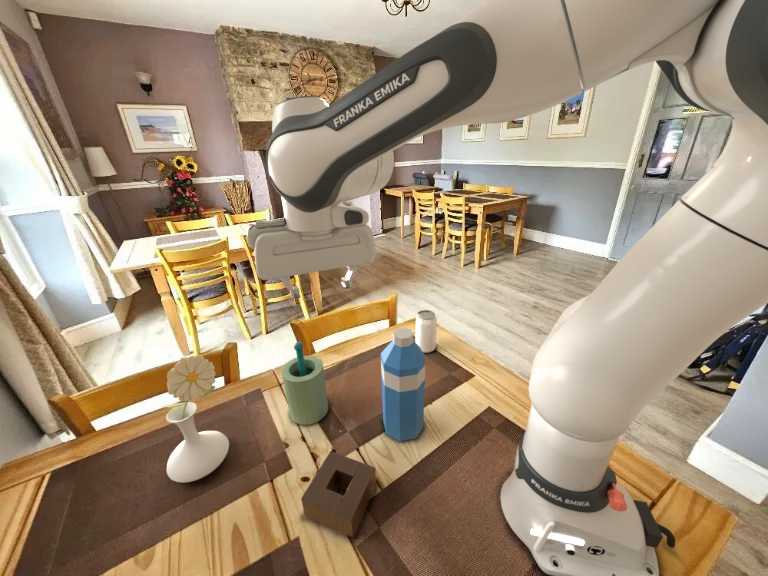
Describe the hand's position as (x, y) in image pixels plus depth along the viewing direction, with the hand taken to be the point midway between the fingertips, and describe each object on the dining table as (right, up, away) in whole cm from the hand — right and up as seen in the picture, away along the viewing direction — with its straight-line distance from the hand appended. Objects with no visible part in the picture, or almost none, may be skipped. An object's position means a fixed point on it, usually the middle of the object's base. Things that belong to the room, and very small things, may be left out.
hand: (322, 292), depth 56 cm
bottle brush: (-7, -29, +20) cm, 36 cm away
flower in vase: (-26, -35, +9) cm, 45 cm away
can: (+24, -18, +43) cm, 53 cm away
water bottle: (+16, -31, +16) cm, 38 cm away
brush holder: (+3, -38, +1) cm, 38 cm away
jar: (-7, -29, +21) cm, 37 cm away
